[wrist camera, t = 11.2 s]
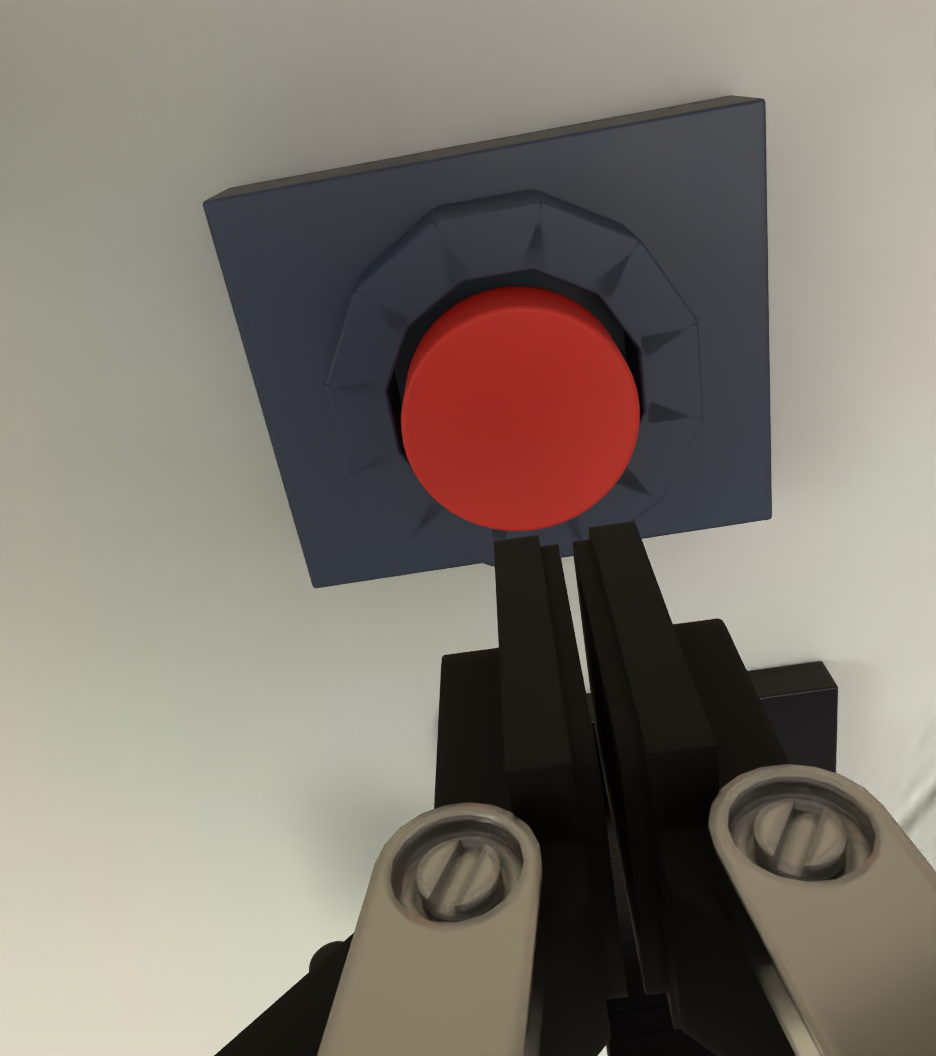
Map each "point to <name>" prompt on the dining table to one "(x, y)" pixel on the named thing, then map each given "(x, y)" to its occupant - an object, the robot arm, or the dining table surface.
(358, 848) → the dining table surface
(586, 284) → the button housing
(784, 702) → the lever bracket
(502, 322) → the button
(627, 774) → the robot arm
